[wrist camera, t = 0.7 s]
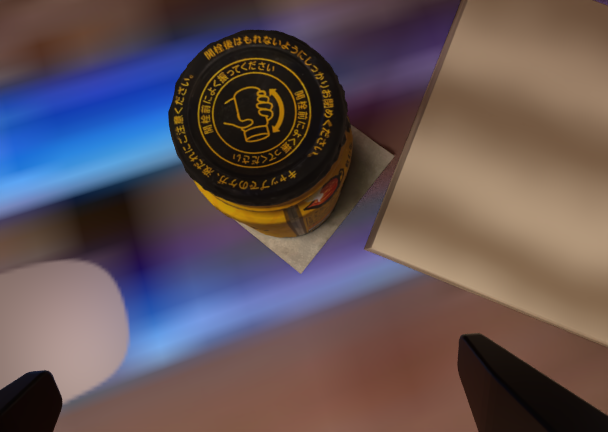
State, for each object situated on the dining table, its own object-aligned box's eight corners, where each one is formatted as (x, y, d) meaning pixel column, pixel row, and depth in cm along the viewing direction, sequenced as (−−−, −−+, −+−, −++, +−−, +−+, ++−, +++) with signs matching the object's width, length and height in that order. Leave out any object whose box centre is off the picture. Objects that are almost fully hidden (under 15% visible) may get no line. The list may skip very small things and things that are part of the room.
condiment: (202, 193, 24) (87, 127, 12) (294, 82, 24) (275, -91, 12) (300, 274, 23) (286, 291, 11) (393, 157, 23) (475, 54, 12)
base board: (643, 361, 22) (695, 378, 19) (364, 249, 23) (371, 248, 20) (729, 93, 23) (790, 69, 20) (462, -2, 24) (482, -39, 21)
